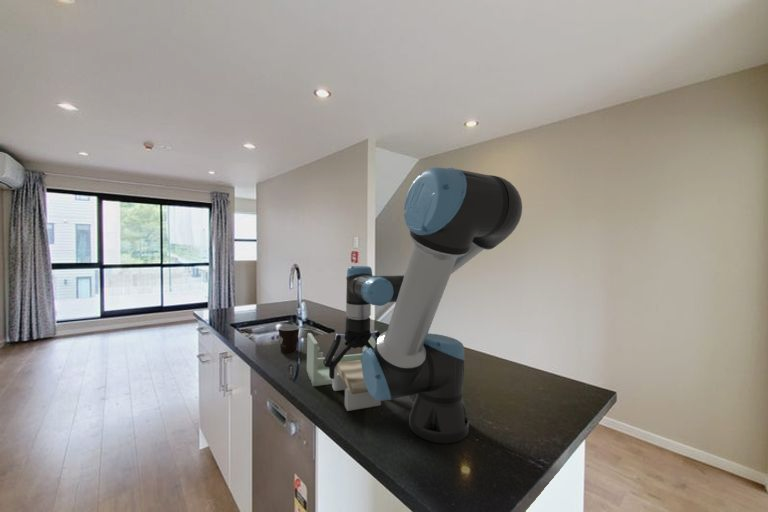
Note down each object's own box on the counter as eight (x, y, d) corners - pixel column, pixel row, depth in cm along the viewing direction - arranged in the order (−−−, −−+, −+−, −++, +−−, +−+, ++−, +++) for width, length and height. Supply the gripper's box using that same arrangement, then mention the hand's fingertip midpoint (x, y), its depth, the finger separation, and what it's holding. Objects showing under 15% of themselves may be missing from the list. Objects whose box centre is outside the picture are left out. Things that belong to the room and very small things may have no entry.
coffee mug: (278, 348, 140) (278, 325, 140) (298, 347, 143) (299, 324, 142) (277, 357, 129) (278, 332, 129) (299, 355, 132) (300, 331, 131)
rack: (380, 405, 93) (381, 388, 93) (347, 411, 89) (347, 393, 89) (362, 382, 107) (363, 368, 107) (333, 387, 104) (334, 371, 103)
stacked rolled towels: (379, 390, 91) (379, 381, 91) (352, 394, 88) (352, 385, 88) (359, 367, 108) (359, 360, 108) (336, 370, 105) (336, 362, 105)
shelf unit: (377, 377, 112) (378, 337, 112) (313, 386, 104) (314, 343, 103) (365, 364, 124) (366, 328, 124) (306, 371, 116) (307, 333, 115)
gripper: (390, 312, 106) (388, 375, 106) (314, 316, 96) (312, 386, 97) (400, 317, 99) (398, 384, 99) (319, 322, 89) (317, 397, 90)
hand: (356, 385), depth 98 cm, fingers open, 13 cm apart
